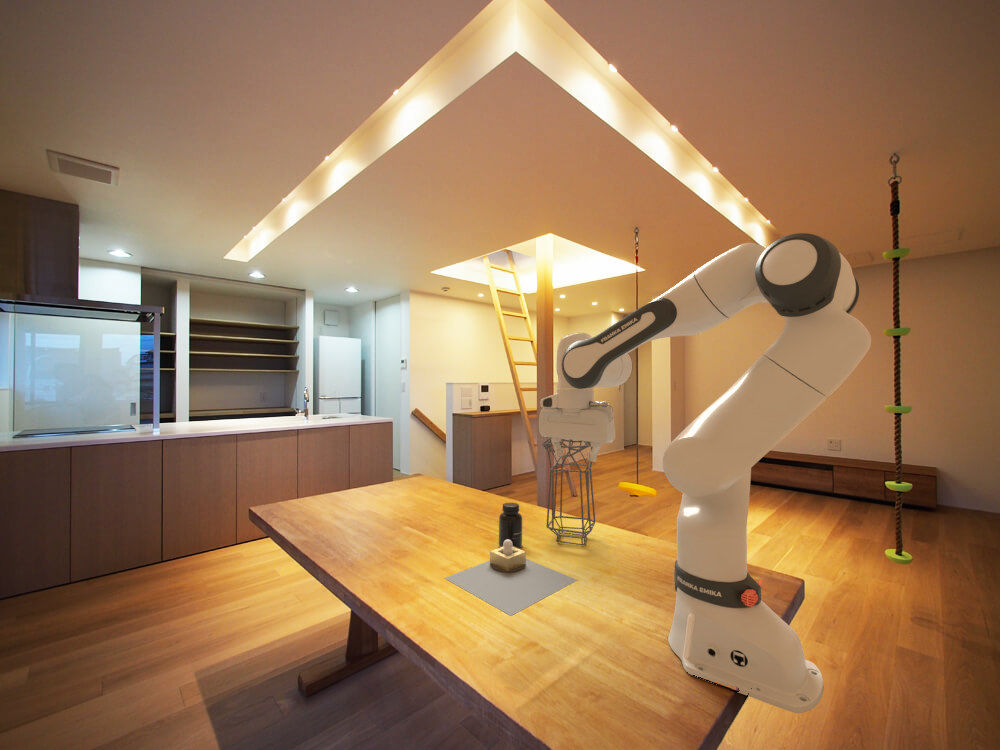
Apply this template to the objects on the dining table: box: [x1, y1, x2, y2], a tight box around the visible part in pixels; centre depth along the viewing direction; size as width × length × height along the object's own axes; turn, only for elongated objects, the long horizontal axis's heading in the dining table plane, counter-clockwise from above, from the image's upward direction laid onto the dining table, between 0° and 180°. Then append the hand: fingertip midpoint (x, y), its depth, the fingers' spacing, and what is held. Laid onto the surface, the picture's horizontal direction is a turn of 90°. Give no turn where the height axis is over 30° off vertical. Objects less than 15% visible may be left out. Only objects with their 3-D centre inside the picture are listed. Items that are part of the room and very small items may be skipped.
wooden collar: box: [489, 546, 527, 571], centre depth 104 cm, size 6×6×3 cm
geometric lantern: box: [541, 437, 596, 546], centre depth 126 cm, size 16×16×35 cm
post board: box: [444, 539, 578, 617], centre depth 96 cm, size 22×22×8 cm
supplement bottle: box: [498, 502, 523, 549], centre depth 120 cm, size 7×7×12 cm
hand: (575, 458), depth 99 cm, fingers open, 8 cm apart
